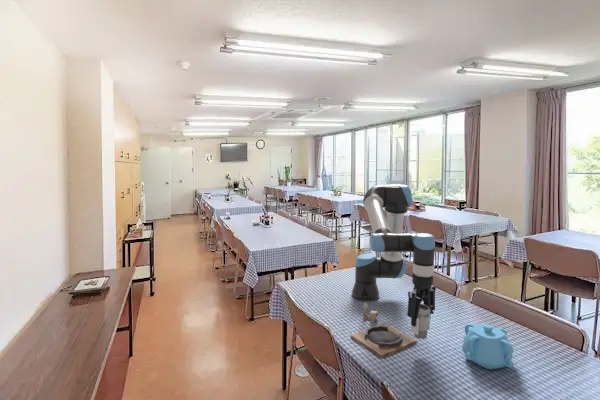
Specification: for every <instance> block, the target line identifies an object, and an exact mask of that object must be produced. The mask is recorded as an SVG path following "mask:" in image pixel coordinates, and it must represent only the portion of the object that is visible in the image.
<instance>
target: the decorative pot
mask: <svg viewBox="0 0 600 400" xmlns="http://www.w3.org/2000/svg"><path fill="white" fill-rule="evenodd" d="M464 332H465V336H464V337H463V342H462V351H463V353H464V355H465V356H466V359H467V360H469V361H472V362H473V363H475V364H477V365H478V366H480V367H483V368H484V369H487V370H493V369H495V370H496V369H501V368H504V367H508V368H513V366H514V363H513V352H514V347H513V345H512V344H511V343H510V340H509V339H508V335H507V334H508V333H507V331H506V330H505V329H504V328H502V327H498V328H497V327H494V326H492V325H490V324H478V325H476V324H474V323H467V324H466V325H465V326H464Z"/></svg>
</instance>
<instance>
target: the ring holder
mask: <svg viewBox="0 0 600 400" xmlns="http://www.w3.org/2000/svg"><path fill="white" fill-rule="evenodd" d="M350 338H351V339H352V340H354V341H355V342H357V343H358V344H360V345H362V346H363V347H364V348H366V349H367V350H369V351H371V353H373V354H375V355H376V356H377V357H379V358H381V359H384V358H386V357H387V356H390V355H393V354H395V353H397V352H399V351H401V350H405V349H407V348H409V347H411V346H413V345H415V344H417V343H418V341H417V339H415V338H414V337H411V336H410V335H407V334H406V333H404V332H402V331H400V330H398V329H397V328H395V327H393V326H390V325H389V324H387V323H385V322H384V323H381V324H378V325H373V326H369V327H367V328H366V329H364V330H360V331H358V332H355V333H352V334H350Z"/></svg>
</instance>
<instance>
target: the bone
mask: <svg viewBox="0 0 600 400" xmlns="http://www.w3.org/2000/svg"><path fill="white" fill-rule="evenodd" d="M368 308H369V305H368V303H366V302H365V303H364V304H363V310H362V311H363V312H362V315H363V319H364V320H368V321H371V322H372V324H374V323H375V321H376V320H377V318H378V317H379V315H378V314H379V313H378V310H374V309H373V310H371V311H370V313H369V315H368V314H367V310H368Z"/></svg>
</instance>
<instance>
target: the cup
mask: <svg viewBox="0 0 600 400" xmlns="http://www.w3.org/2000/svg"><path fill="white" fill-rule="evenodd" d="M430 312H431V311H430V308H429V306H427V305H425V304H424V303H421V305H420V309H419V313H418V317H417V318H419V330H418V335H416V334H414V333H413V335H414V338H417V339H419V340H425V339H427V337H428V331H429V330H428V323H429V313H430Z"/></svg>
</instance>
